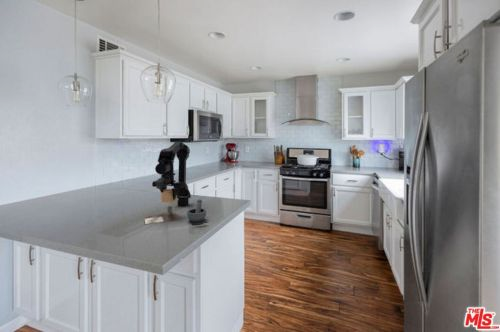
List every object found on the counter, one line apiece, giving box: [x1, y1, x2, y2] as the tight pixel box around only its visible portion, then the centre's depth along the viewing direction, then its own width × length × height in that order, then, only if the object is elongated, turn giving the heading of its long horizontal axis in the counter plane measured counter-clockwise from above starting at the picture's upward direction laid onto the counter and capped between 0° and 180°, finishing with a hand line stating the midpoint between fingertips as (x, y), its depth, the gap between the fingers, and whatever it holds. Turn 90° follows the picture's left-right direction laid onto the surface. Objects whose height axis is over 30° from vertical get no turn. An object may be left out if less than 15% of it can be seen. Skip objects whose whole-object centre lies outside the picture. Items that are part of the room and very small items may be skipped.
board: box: [142, 205, 181, 226], centre depth 140 cm, size 18×14×6 cm
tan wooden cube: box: [160, 188, 178, 204], centre depth 144 cm, size 6×6×6 cm
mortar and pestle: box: [186, 199, 207, 227], centre depth 136 cm, size 11×9×12 cm
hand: (169, 199), depth 144 cm, fingers closed on tan wooden cube, 6 cm apart
